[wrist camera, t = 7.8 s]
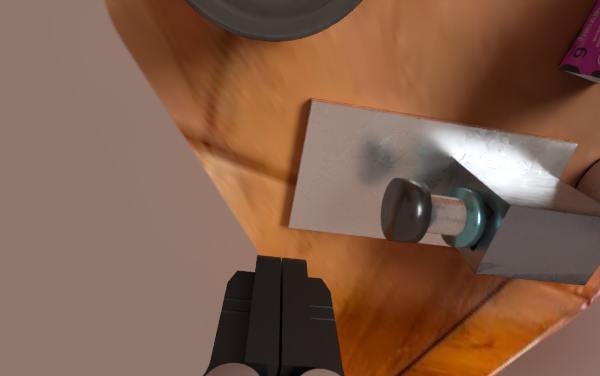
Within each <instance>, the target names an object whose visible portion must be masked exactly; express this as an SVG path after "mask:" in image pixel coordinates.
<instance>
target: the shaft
mask: <svg viewBox="0 0 600 376" xmlns="http://www.w3.org/2000/svg"><path fill="white" fill-rule="evenodd" d="M493 212H494V210H492V209H491V208H490V207H489V206H488V205H487V204H486V203H485V202H483V199H482V197H481V196H480V194H479V193H478V192H476V191H475V190H473V189H467V188H459V187H457V188H454V189H452V190H450V191H449V192H448V193H447V195H446V196H439V195H431V194H430V191H429V188H428V186H427V185H426V184H425V183H424V182H423V181H418V180H411V179H404V178H394V179H392V180H391V181H390V183H389V184H388V186H387V188H386V190H385V193H384V196H383V200H382V205H381V227H382V231H383V234H384V236H385V238H386V239H387V240H389V241H397V242H406V243H418V242H419V241H421V240H422V238H423V237H424V236H425V234H426V233H433V234H441V236H442V238H443V240H444V241H445V243H446V244H447V245H449V246H452V247H459V248H469V247H471V246H473V245H474V244H476V242H477V241H478V240H479V239H480V238H481V236H482V234H483V232H484V230H485V228H486V226H487V224H488V222H489V220H490V218H491V216H492V214H493Z"/></svg>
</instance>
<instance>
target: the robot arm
mask: <svg viewBox="0 0 600 376" xmlns="http://www.w3.org/2000/svg"><path fill="white" fill-rule="evenodd" d="M576 190H578V191H580V192H581V193H583V194H585V195H586V196H588V197H590V198H591V199H593V200H595V201H596V202H598V203H600V161H599V162H597V163H596V164H595V165H593V166H592V167H591V168H590V169H589V170H588V171H587V172H586V173H585V175H584V176H583V177H582V179H581V180H580V182H579V183H578V185H577V187H576ZM332 308H333V305H332V299H331V293H330V291H329V289H328V288H327V286H326V285H325V283H324V282H323V280H322V279H320V278H310V277H308V274H307V263H306V260H301V259H292V258H282V261H281V257H271V256H261V255H258V256H257V261H256V269H255V272H246V271H237V272H236V273H235V274H234V275H233V277H232V278H231V279H230V280H229V281H228V283H227V288H226V292H225V297H224V301H223V306H222V311H221V315H220V320H219V324H218V329H217V333H216V338H215V342H214V347H213V351H212V356H211V360H210V364H209V367H208V369H207V371H206V372H205V374H204V375H203V376H345V375H344V372H343V367H342V361H341V354H340V348H339V342H338V336H337V330H336V324H335V321H334V320H335V317H334V311H333V309H332Z"/></svg>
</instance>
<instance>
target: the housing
mask: <svg viewBox="0 0 600 376" xmlns="http://www.w3.org/2000/svg"><path fill="white" fill-rule="evenodd" d="M577 146H578V144H576V143H574V142H571V141H569V140H564V139H558V138H552V137H546V136H540V135H534V134H528V133H522V132H516V131H509V130H503V129H497V128H491V127H485V126H479V125H473V124H467V123H461V122H455V121H449V120H443V119H437V118H431V117H425V116H419V115H412V114H406V113H400V112H394V111H388V110H382V109H376V108H370V107H364V106H358V105H352V104H346V103H340V102H334V101H328V100H321V99H315V98H311V102H310V107H309V113H308V118H307V124H306V129H305V134H304V140H303V145H302V151H301V156H300V161H299V167H298V172H297V178H296V183H295V188H294V194H293V199H292V205H291V210H290V215H289V221H288V224H289V228H295V229H304V230H313V231H321V232H330V233H338V234H347V235H355V236H364V237H373V238H381V239H386V238H385V236H384V234H383V231H382V227H381V205H382V200H383V196H384V193H385V190H386V188H387V186H388V184H389V183H390V181H391V180H392V179H394V178H404V179H411V180H418V181H423V182H424V183H425V184H426V185H427V186H428V188H429V191H430V194H431V195H439V196H446V195H447V193H448V192H449V191H450V190H452V189H454V188H457V187H459V188H467V189H473V190H475V191H476V192H478V193H479V194H480V196H481V197H482V199H483V202H485V203H486V204H487V205H488V206H489V207H490V208H491V209H492V210H494V212H493V214H492V216H491V218H490V220H489V222H488V224H487V226H486V228H485V230H484V232H483V234H482V236H481V238H480V239H479V240H478V241H477V242H476V244H474V245H473V246H471V247H469V248H459V247H455V248H456V249H457V250H458V252H459V253H460V254H461V256H462V257H463V258H464V260H465V261H466V262H467V264H468V265H469V266H470V268H471V269H472V270H473V272H474V273H475V274H482V275H491V276H501V277H510V278H519V279H529V280H538V281H547V282H557V283H566V284H575V285H586V283H587V282H588V280H589V279H590V278H591V276H592V275H593V273H594V272H595V271H596V269H597V268H598V267H599V265H600V203H598V202H596V201H595V200H593V199H591V198H590V197H588V196H586V195H585V194H583V193H581V192H580V191H578V190H576V189H575V188H573V187H571V186H570V185H568V184H566V183H564V182H563V181H561V180H559V177H560V175H561V174H562V172H563V170H564V168H565V167H566V165H567V163H568V161H569V160H570V158H571V156H572V154H573V153H574V151H575V149H576V147H577ZM418 243H424V244H433V245H441V246H449V245H447V244H446V243H445V241H444V240H443V238H442V236H441V234H433V233H426V234H425V236H424V237H423V238H422V240H421V241H419V242H418ZM450 247H452V246H450Z"/></svg>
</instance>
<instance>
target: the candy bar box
mask: <svg viewBox="0 0 600 376" xmlns="http://www.w3.org/2000/svg"><path fill="white" fill-rule="evenodd" d="M558 69H561V70H563V71H566V72H569V73H572V74H574V75H577V76H580V77H582V78H585V79H588V80H591V81H593V82H596V83H599V84H600V0H598V2H597V3H596V5H595V7H594V8H593V10H592V12H591V13H590V15H589V17H588V19H587V20H586V22H585V24H584V25H583V27H582V29H581V30H580V32H579V34H578V36H577V37H576V39H575V41H574V42H573V44H572V46H571V47H570V49H569V51H568V52H567V54H566V56H565V57H564V59H563V61H562V62H561V64H560V66H559V67H558Z"/></svg>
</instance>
